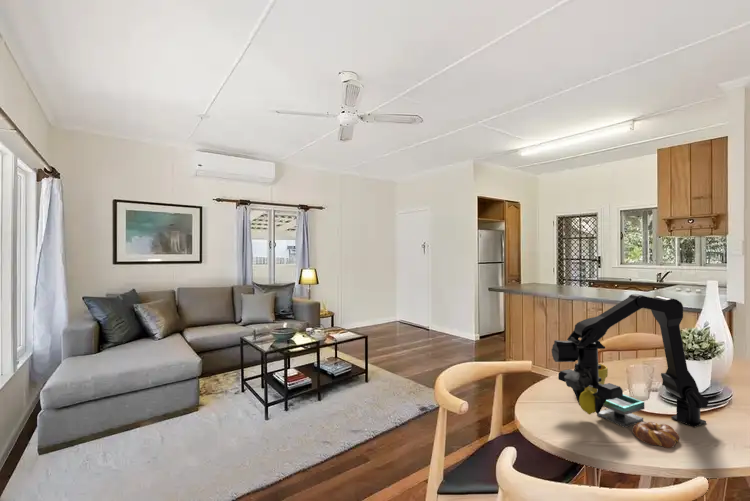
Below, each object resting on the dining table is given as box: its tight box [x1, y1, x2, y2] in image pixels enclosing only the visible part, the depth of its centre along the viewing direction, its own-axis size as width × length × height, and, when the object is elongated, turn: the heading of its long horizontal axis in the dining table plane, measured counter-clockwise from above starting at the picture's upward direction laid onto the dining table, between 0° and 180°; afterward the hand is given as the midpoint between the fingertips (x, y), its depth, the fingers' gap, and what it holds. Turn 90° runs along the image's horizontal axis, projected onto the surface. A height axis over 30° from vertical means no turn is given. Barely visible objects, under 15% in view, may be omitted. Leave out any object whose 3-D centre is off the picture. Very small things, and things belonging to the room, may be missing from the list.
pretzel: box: [632, 421, 680, 449], centre depth 106 cm, size 12×11×4 cm
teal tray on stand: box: [596, 394, 645, 428], centre depth 118 cm, size 10×10×6 cm
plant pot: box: [585, 362, 609, 393], centre depth 140 cm, size 10×10×10 cm
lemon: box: [578, 390, 596, 415], centre depth 118 cm, size 6×6×8 cm
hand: (589, 409), depth 118 cm, fingers closed on lemon, 5 cm apart
